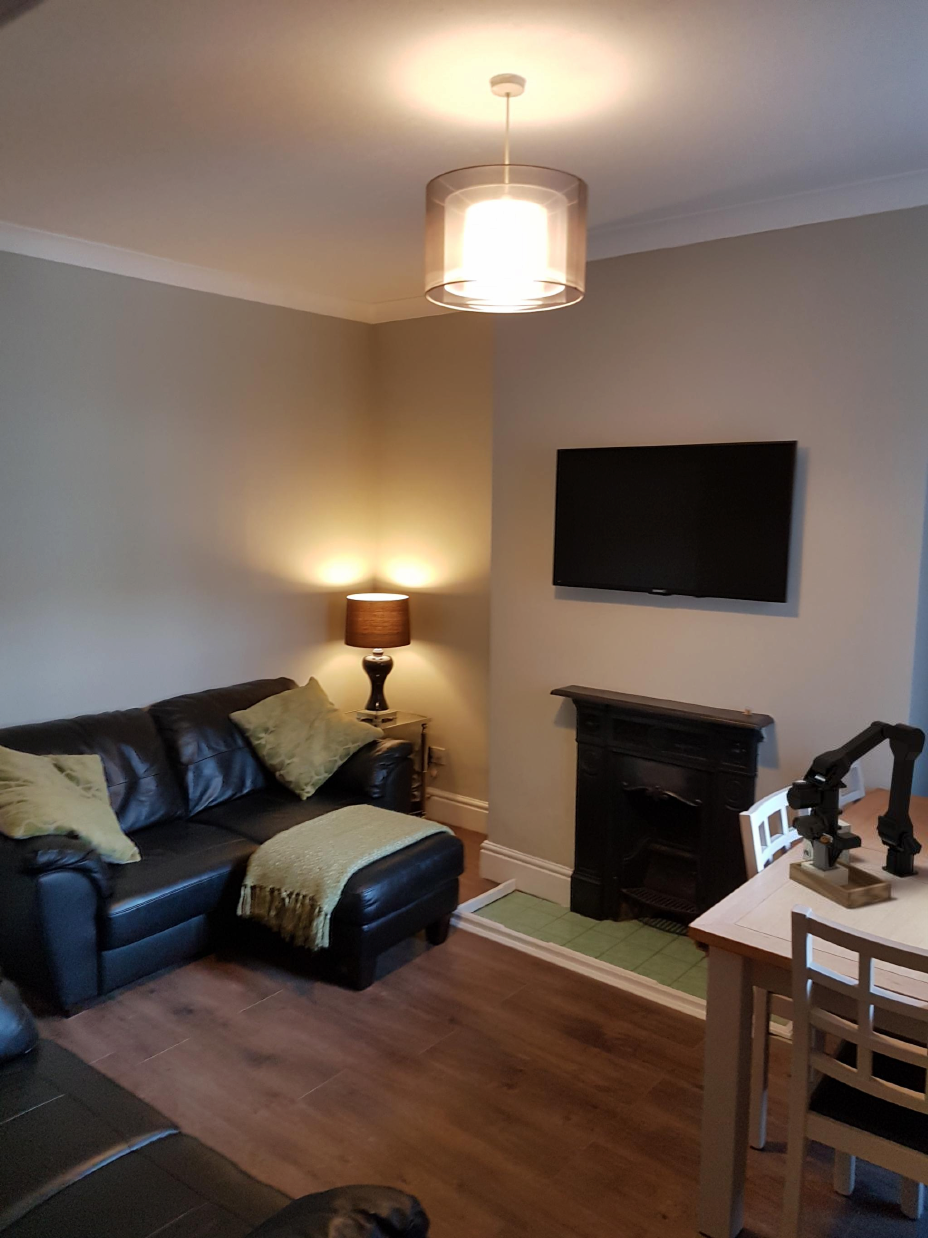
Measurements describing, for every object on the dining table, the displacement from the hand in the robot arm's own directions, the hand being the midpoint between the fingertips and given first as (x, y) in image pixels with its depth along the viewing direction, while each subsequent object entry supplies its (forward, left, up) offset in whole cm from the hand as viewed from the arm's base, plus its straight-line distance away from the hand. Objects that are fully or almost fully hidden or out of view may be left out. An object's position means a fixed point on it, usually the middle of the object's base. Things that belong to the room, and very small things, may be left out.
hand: (824, 864), depth 236 cm
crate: (-1, +4, -5) cm, 7 cm away
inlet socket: (0, 0, -5) cm, 5 cm away
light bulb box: (-12, -12, -6) cm, 18 cm away
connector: (0, 0, -2) cm, 2 cm away
